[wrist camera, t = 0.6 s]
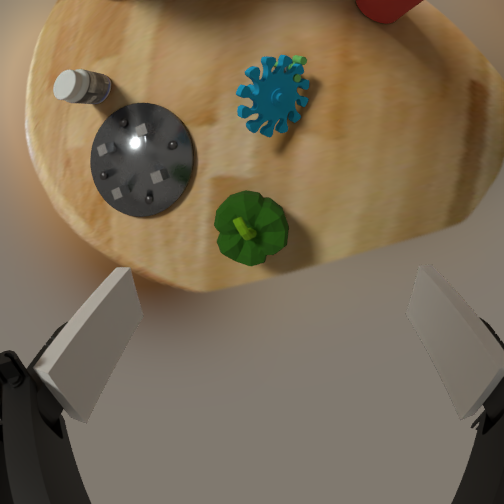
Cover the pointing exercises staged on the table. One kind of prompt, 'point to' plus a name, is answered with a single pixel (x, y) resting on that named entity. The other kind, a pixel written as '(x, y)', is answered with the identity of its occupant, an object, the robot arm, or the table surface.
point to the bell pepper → (250, 227)
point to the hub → (142, 159)
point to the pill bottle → (82, 86)
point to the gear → (274, 93)
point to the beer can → (386, 9)
